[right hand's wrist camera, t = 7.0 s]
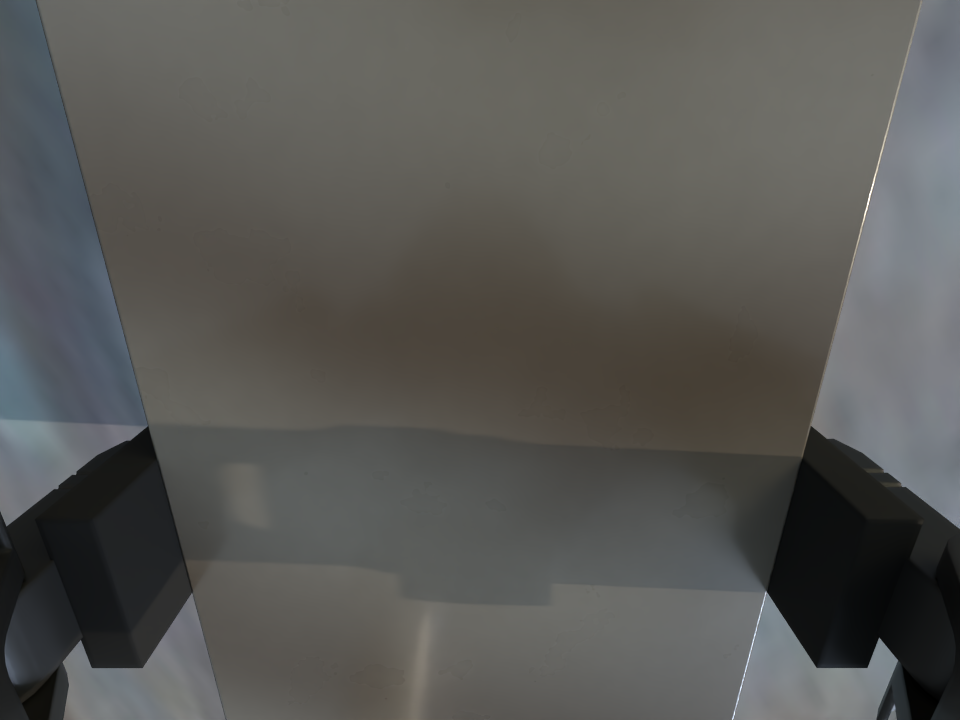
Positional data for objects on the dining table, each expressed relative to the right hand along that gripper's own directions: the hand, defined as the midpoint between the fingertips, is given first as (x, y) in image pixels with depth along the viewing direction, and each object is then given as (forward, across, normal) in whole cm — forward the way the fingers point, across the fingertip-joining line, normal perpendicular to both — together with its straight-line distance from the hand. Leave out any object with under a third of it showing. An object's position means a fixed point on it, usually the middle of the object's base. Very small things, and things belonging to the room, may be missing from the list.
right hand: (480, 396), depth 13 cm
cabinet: (+6, 0, -4) cm, 7 cm away
